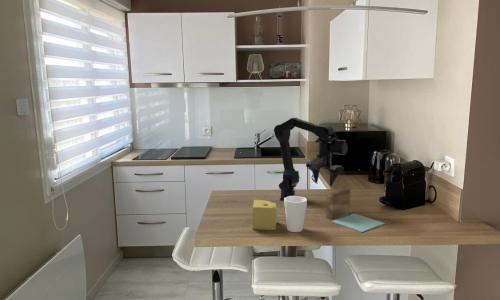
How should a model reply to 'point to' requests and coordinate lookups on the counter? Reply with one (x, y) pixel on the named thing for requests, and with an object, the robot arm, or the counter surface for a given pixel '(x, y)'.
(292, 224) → the foam cup
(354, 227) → the mat
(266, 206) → the cheese
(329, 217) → the walnut block
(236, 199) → the counter surface
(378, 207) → the counter surface
